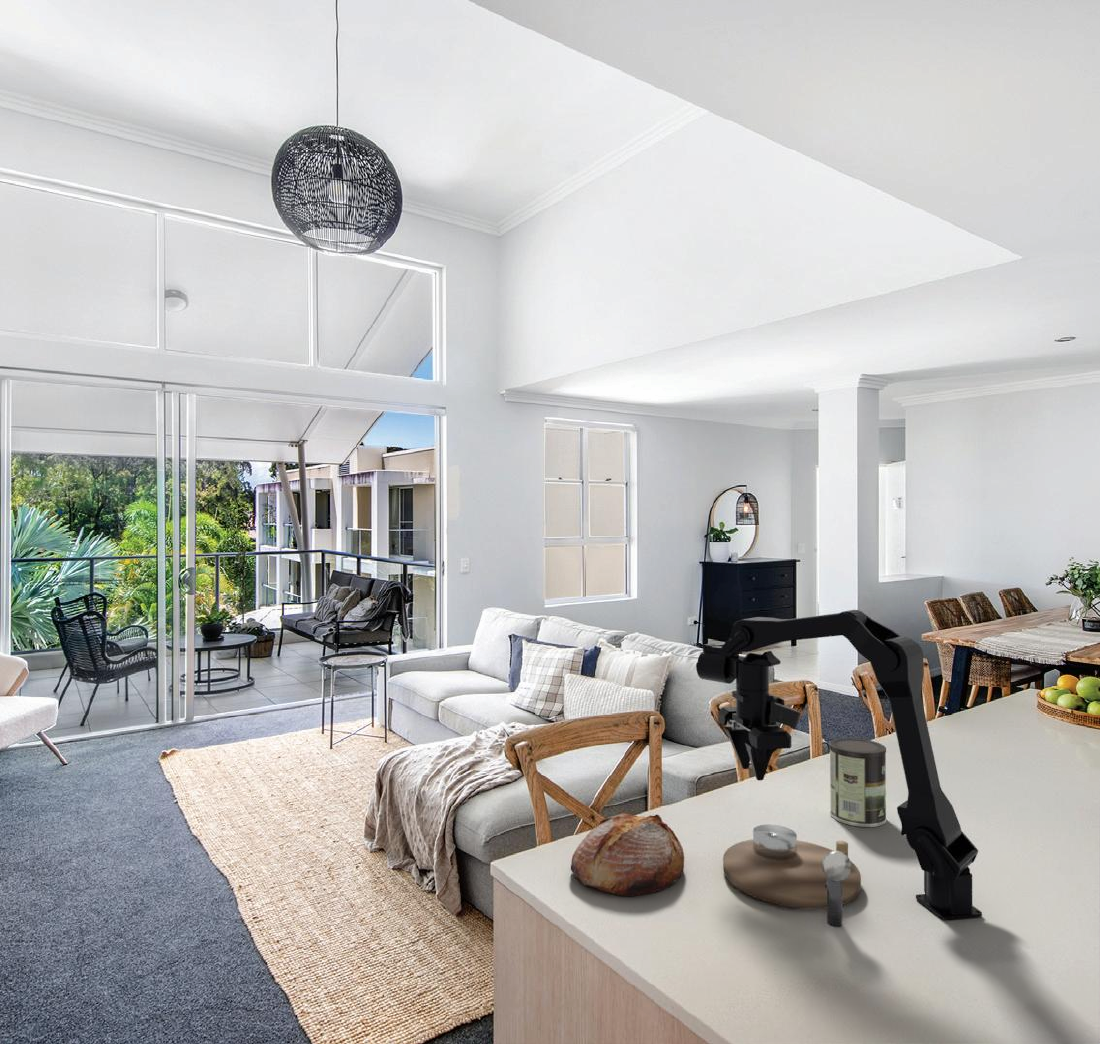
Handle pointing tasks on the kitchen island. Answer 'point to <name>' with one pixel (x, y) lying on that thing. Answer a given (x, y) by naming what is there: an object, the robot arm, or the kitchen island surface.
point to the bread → (629, 856)
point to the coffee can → (858, 782)
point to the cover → (775, 842)
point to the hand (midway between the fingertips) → (752, 774)
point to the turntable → (787, 875)
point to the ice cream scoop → (835, 884)
